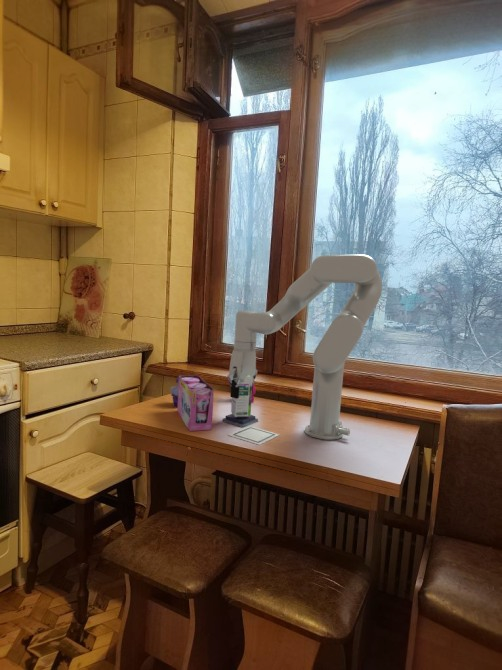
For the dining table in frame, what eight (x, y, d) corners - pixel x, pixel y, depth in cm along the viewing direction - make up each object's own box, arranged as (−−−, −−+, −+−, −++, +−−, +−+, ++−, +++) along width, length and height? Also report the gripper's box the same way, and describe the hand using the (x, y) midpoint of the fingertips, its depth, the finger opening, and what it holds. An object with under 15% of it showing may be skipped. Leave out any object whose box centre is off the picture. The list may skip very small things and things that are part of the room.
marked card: (279, 435, 133) (279, 434, 133) (259, 445, 123) (259, 444, 123) (249, 426, 140) (249, 425, 140) (228, 435, 130) (228, 434, 130)
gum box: (213, 431, 133) (216, 390, 131) (189, 433, 130) (191, 391, 129) (197, 410, 155) (199, 375, 154) (176, 411, 152) (178, 375, 151)
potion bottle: (175, 401, 165) (177, 372, 164) (195, 404, 162) (196, 374, 161) (165, 406, 157) (166, 376, 156) (185, 409, 154) (186, 378, 153)
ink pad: (257, 421, 146) (258, 416, 145) (243, 427, 138) (243, 421, 138) (237, 416, 151) (238, 410, 150) (222, 421, 143) (222, 415, 143)
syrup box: (234, 417, 140) (237, 376, 139) (230, 412, 146) (232, 372, 144) (250, 416, 142) (253, 376, 141) (245, 411, 148) (248, 372, 146)
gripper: (250, 343, 151) (247, 389, 153) (220, 346, 137) (217, 397, 138) (267, 345, 147) (264, 393, 148) (238, 349, 132) (235, 402, 134)
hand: (241, 395), depth 143 cm, fingers closed on syrup box, 7 cm apart
